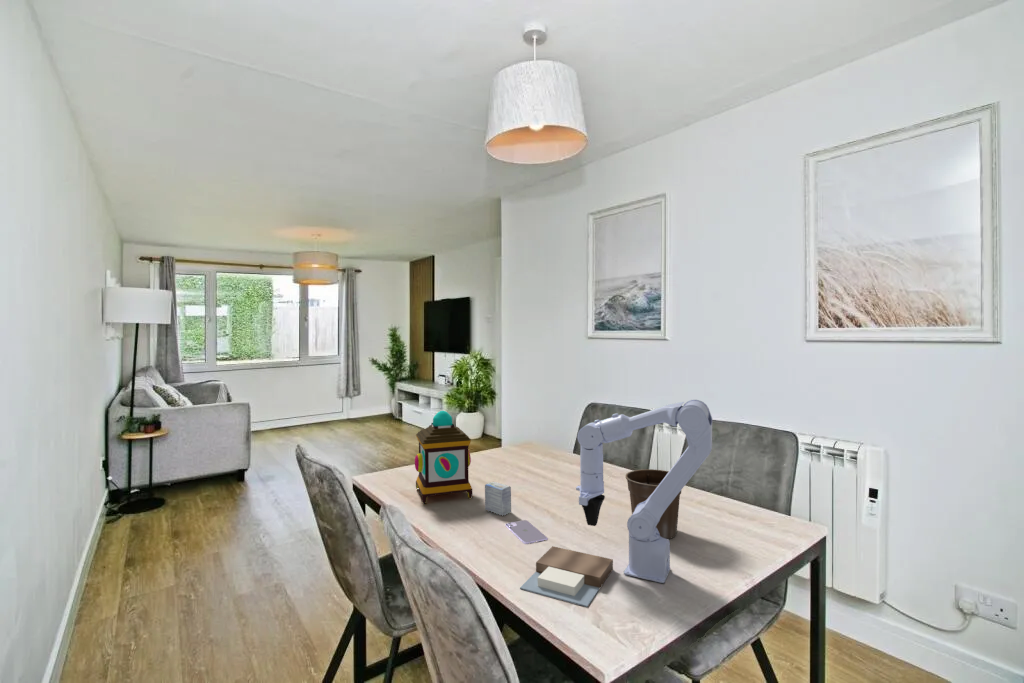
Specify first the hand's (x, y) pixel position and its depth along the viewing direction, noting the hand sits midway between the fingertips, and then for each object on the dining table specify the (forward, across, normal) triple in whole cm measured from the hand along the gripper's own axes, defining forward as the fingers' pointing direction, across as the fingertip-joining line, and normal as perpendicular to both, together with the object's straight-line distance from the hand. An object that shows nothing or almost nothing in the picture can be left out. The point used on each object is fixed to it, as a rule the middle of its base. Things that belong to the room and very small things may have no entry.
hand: (592, 524), depth 126 cm
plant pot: (+10, -25, +10) cm, 29 cm away
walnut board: (+9, +7, -2) cm, 12 cm away
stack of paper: (+10, -20, -38) cm, 43 cm away
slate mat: (+9, +16, -2) cm, 19 cm away
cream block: (+9, +15, -3) cm, 18 cm away
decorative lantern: (+9, -26, -64) cm, 69 cm away
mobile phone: (+10, -9, -23) cm, 26 cm away
